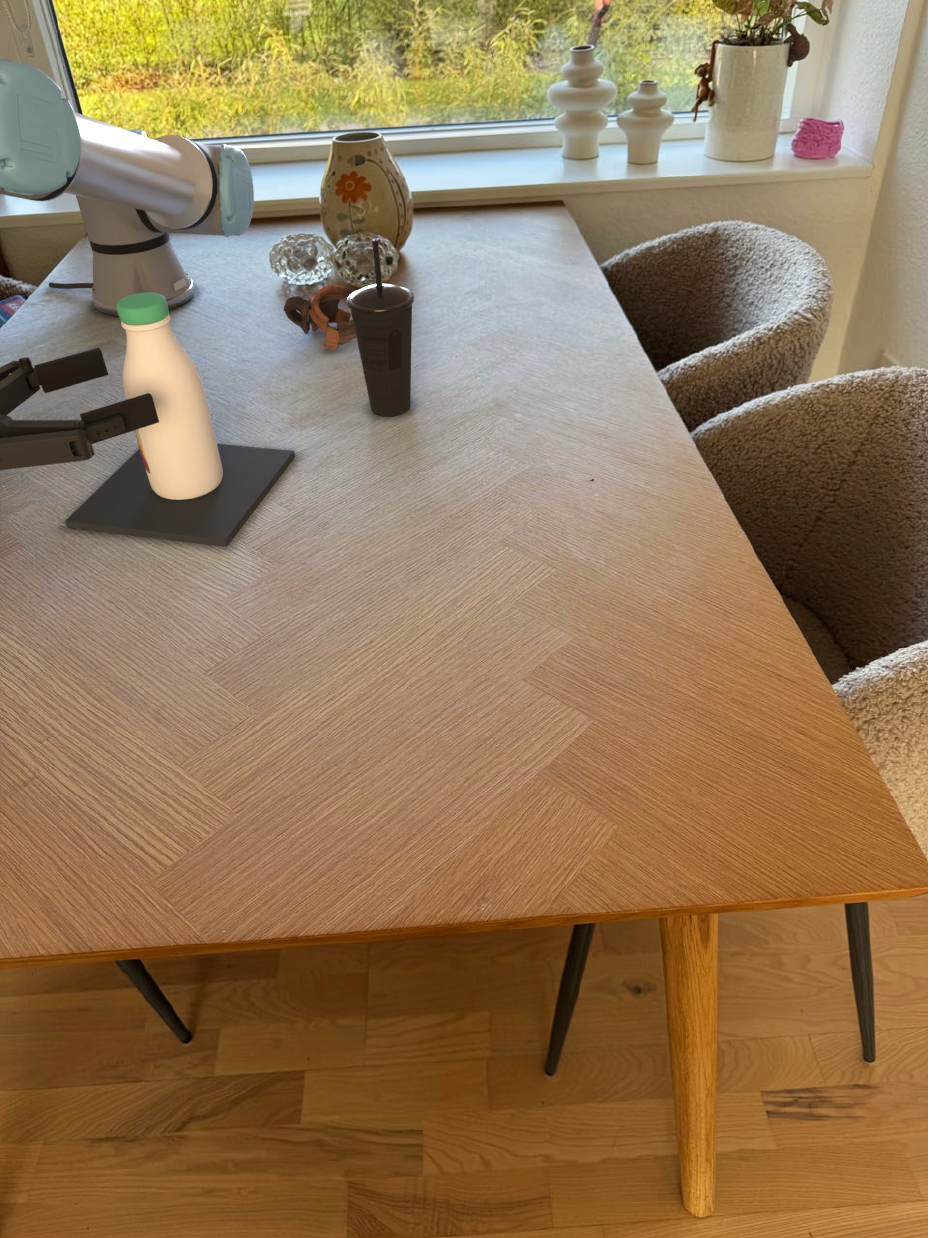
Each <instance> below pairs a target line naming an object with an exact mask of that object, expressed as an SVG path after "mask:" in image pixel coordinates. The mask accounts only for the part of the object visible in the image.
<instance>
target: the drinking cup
mask: <svg viewBox="0 0 928 1238" xmlns="http://www.w3.org/2000/svg"><path fill="white" fill-rule="evenodd" d="M371 245H372V246H371V247H372V255H373V256H372V257H373V265H374V276H375V283H373V284H370V285H366V286H364V287H362V288H359V289H358V290H357V289H356V290H357V291H355V292H353V293H352V294H350V295H347V296H348V297H347V298H346V305H347V307H348V308H349V309H350V313H351V318H352V319H351V320H353V323H354V328H355V333H356V338H355V339H356V342H357V347H358V352H359V356H360V361H361V367H362V373H363V376H364V382H365V386H366V391H367V395H368V400H369V401H368V402H369V406H370V410H371V412H372V413H373V414H375V415H376V416H380V417H385V418H387V417H391V418H392V417H397V416H401V415H404V414H406V413H407V412H408V411H409V410H410V409H411V391H412V390H411V389H412V388H411V387H412V335H413V334H412V333H413V332H412V330H413V327H412V326H413V304H414V302H415V295H414V293H413V291H411V290H410V289H408V288H406V287H403V286H399V285H396V284H392V283H383V279H382V269H381V267H382V266H381V257H380V256H381V255H380V246H379V238H372V239H371Z"/></svg>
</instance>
